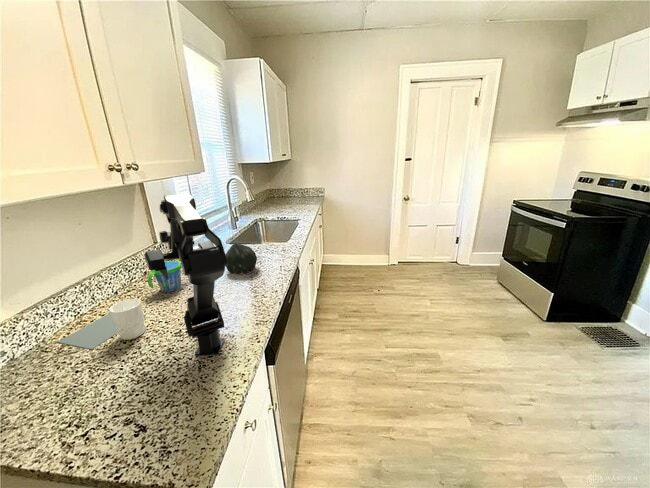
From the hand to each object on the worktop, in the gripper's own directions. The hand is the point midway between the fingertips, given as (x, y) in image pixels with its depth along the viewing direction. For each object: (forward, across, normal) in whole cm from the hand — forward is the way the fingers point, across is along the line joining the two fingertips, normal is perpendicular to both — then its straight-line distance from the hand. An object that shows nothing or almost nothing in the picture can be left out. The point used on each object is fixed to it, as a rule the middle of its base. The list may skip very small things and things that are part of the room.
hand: (183, 275), depth 88 cm
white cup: (+18, +15, +2) cm, 24 cm away
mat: (+22, +22, -8) cm, 32 cm away
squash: (+25, -31, -19) cm, 44 cm away
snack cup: (+28, -2, -23) cm, 36 cm away
